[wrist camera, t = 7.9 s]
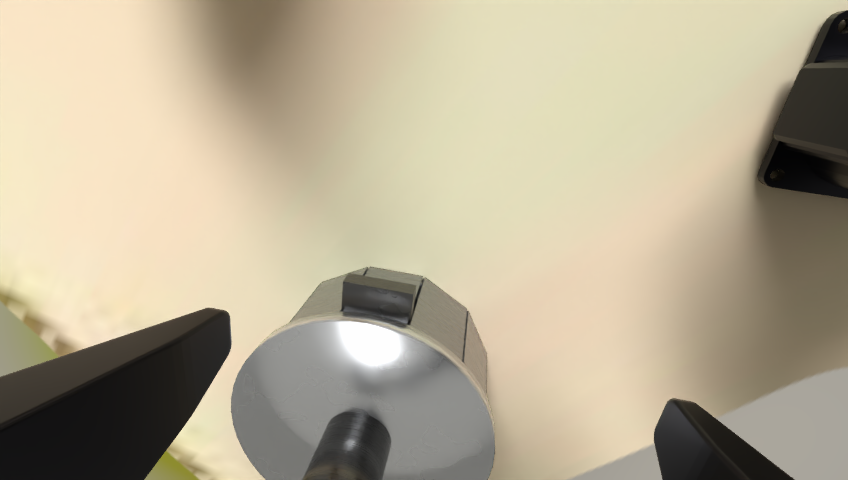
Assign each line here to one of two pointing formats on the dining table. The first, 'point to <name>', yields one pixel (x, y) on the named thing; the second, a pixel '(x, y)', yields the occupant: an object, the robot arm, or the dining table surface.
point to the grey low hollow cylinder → (404, 309)
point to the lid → (360, 404)
